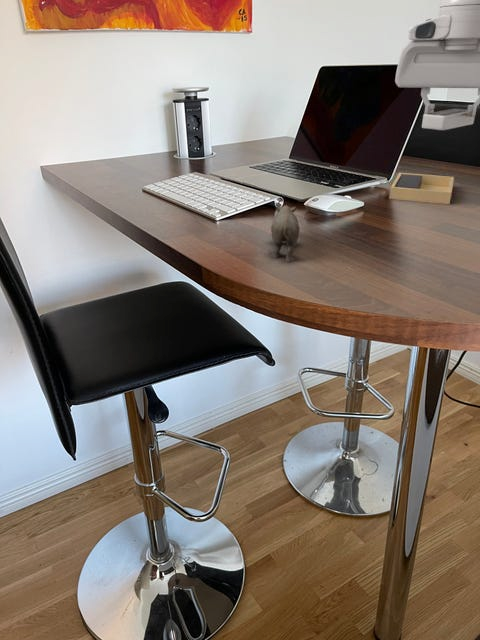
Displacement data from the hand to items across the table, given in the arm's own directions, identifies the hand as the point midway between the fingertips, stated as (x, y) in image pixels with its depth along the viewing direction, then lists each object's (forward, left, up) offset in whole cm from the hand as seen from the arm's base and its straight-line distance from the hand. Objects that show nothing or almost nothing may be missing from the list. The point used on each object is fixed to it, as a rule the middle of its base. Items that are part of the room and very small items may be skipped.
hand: (449, 115), depth 90 cm
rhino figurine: (+40, +4, -16) cm, 43 cm away
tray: (-2, -5, -16) cm, 17 cm away
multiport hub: (0, 0, -2) cm, 2 cm away
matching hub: (-1, -7, -15) cm, 17 cm away
